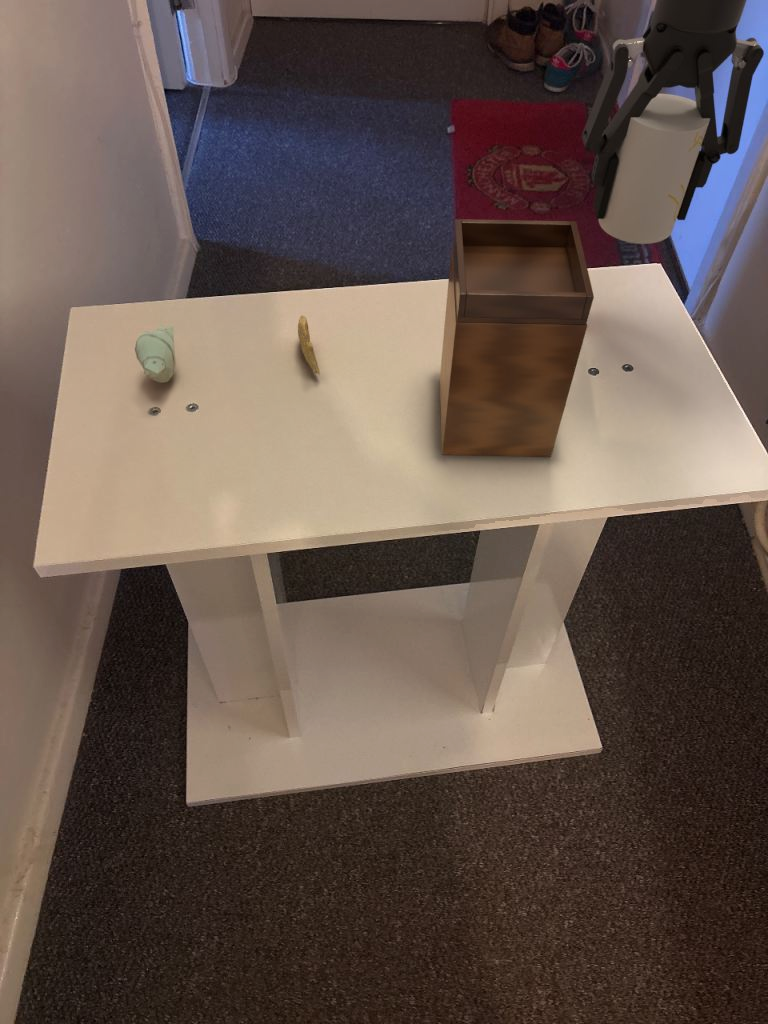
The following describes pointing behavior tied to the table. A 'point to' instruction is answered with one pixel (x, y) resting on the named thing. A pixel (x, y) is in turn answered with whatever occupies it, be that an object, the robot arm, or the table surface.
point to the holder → (520, 272)
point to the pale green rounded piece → (157, 353)
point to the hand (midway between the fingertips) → (638, 212)
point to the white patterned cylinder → (654, 170)
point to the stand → (504, 383)
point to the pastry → (307, 344)
